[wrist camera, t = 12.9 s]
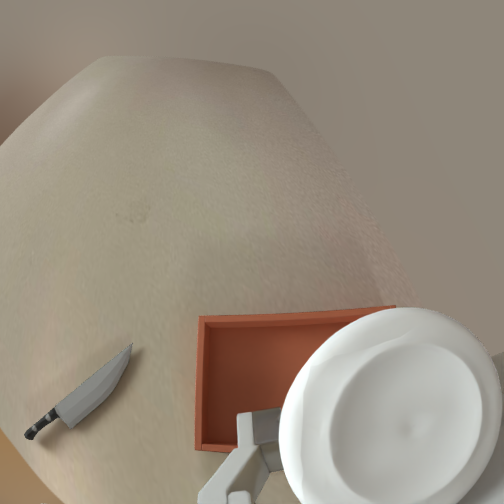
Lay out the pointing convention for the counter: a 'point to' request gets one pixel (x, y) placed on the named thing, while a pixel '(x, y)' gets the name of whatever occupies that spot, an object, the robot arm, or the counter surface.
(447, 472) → the sprinkles bottle
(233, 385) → the tray
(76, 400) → the chef's knife
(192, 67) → the counter surface
